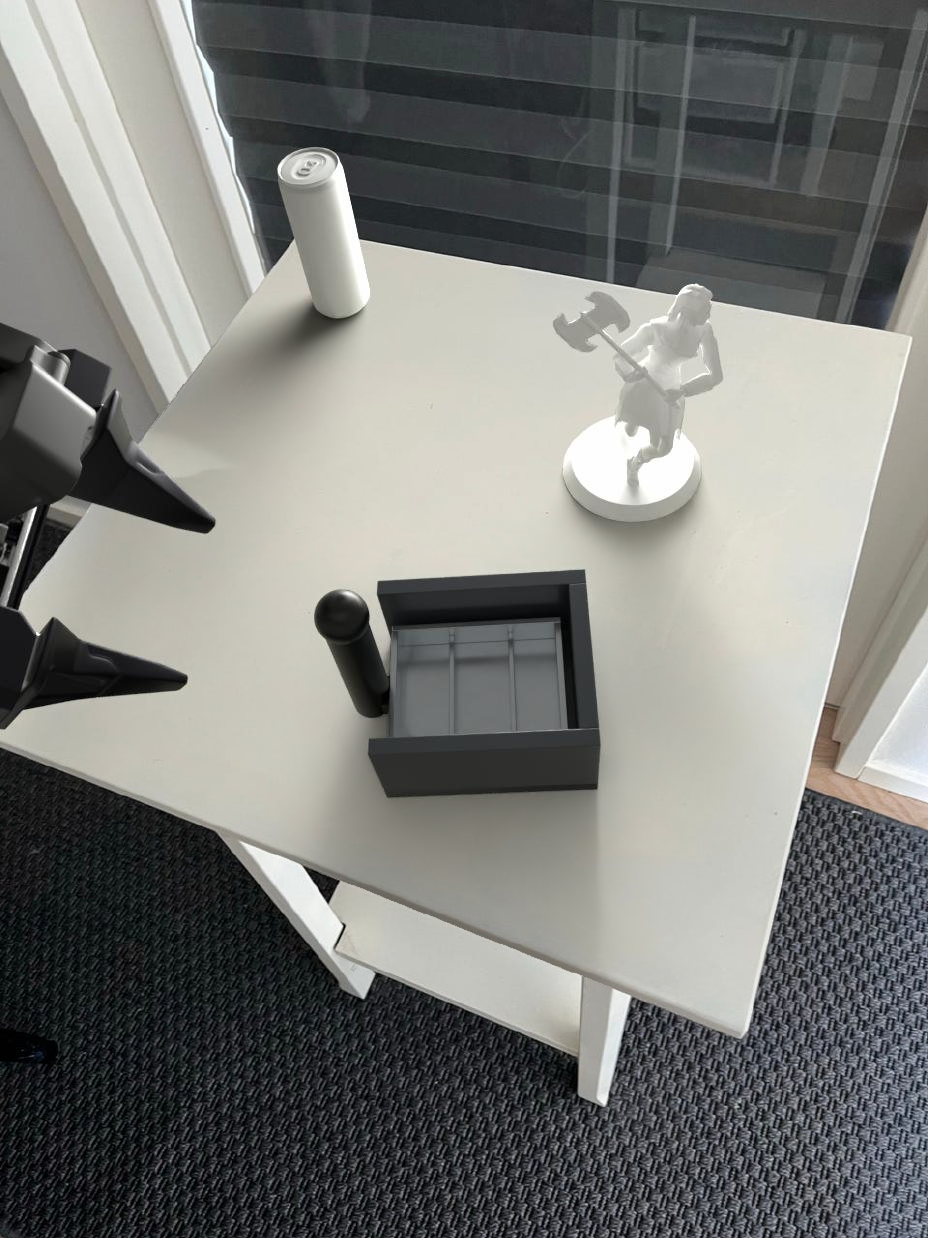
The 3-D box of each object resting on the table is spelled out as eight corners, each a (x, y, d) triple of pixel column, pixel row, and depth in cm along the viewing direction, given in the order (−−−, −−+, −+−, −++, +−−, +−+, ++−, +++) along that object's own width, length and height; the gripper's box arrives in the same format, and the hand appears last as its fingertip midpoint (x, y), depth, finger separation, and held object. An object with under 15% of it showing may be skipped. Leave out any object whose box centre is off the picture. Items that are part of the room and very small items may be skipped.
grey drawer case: (386, 798, 53) (367, 755, 48) (393, 634, 59) (377, 580, 54) (597, 790, 52) (600, 745, 47) (583, 623, 58) (585, 568, 53)
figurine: (556, 522, 62) (551, 303, 47) (558, 418, 67) (555, 190, 52) (706, 521, 61) (750, 297, 46) (697, 416, 66) (735, 182, 51)
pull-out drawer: (347, 767, 53) (300, 674, 44) (356, 646, 57) (314, 538, 48) (569, 757, 52) (569, 660, 43) (560, 635, 56) (559, 523, 47)
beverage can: (381, 289, 77) (353, 151, 67) (354, 327, 75) (320, 190, 65) (331, 278, 79) (296, 141, 68) (303, 314, 76) (262, 178, 66)
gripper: (-221, 564, 27) (257, 714, 35) (-38, 183, 37) (301, 371, 45) (-267, 701, 34) (139, 799, 43) (-104, 352, 44) (199, 487, 53)
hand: (199, 601), depth 46 cm, fingers open, 9 cm apart
